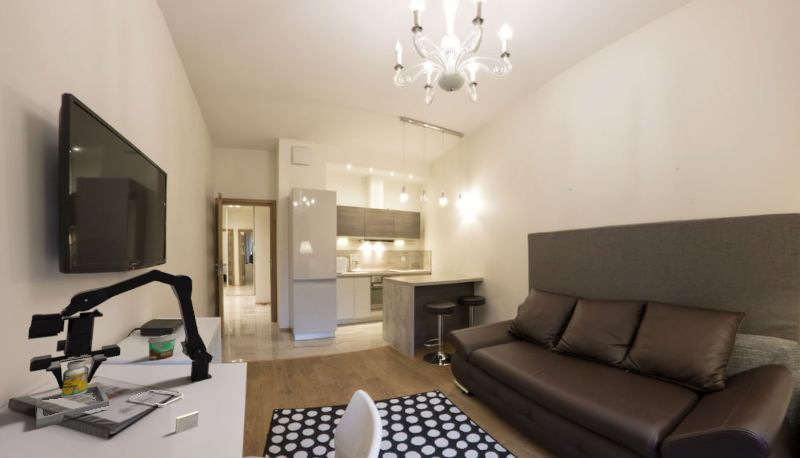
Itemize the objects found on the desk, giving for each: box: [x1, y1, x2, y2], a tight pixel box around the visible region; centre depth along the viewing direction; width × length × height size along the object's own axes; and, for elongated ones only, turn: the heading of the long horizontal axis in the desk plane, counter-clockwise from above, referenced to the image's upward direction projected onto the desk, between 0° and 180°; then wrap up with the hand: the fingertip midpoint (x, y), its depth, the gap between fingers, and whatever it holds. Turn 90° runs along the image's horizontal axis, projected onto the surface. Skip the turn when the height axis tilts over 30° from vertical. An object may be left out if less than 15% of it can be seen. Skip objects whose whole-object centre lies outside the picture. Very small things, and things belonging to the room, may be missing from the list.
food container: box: [147, 331, 178, 361], centre depth 139 cm, size 12×6×10 cm, turn 168°
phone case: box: [128, 389, 185, 408], centre depth 99 cm, size 7×1×15 cm
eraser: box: [174, 410, 200, 434], centre depth 82 cm, size 1×5×4 cm, turn 137°
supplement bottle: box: [61, 359, 90, 398], centre depth 93 cm, size 5×5×10 cm
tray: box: [35, 384, 110, 430], centre depth 92 cm, size 18×14×2 cm
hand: (75, 385), depth 93 cm, fingers closed on supplement bottle, 5 cm apart
